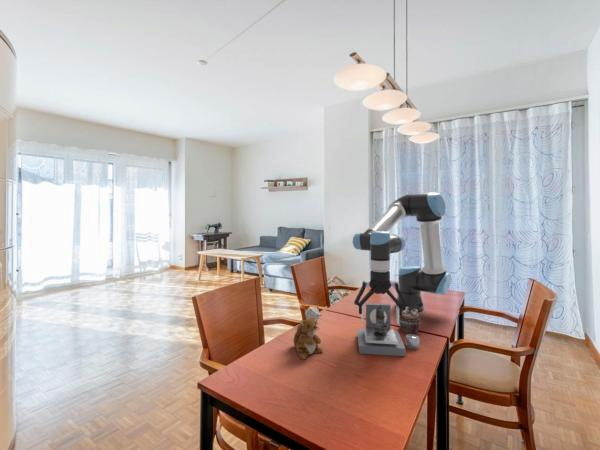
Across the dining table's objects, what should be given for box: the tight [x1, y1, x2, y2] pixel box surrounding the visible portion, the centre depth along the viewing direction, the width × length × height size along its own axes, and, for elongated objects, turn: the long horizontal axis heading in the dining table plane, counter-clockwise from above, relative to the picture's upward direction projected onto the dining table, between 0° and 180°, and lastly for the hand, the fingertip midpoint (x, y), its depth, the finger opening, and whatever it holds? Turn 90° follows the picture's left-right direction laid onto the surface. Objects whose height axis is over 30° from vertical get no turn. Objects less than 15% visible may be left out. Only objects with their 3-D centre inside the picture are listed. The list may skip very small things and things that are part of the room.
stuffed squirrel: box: [293, 318, 324, 360], centre depth 115 cm, size 10×14×13 cm
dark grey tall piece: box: [373, 305, 388, 337], centre depth 117 cm, size 6×6×12 cm
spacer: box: [405, 333, 420, 350], centre depth 118 cm, size 5×5×4 cm
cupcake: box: [399, 307, 422, 334], centre depth 134 cm, size 10×10×10 cm
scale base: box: [357, 302, 406, 357], centre depth 118 cm, size 17×16×15 cm
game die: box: [302, 305, 323, 325], centre depth 144 cm, size 9×8×10 cm
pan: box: [363, 327, 398, 344], centre depth 117 cm, size 12×12×2 cm
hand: (380, 322), depth 117 cm, fingers open, 13 cm apart
